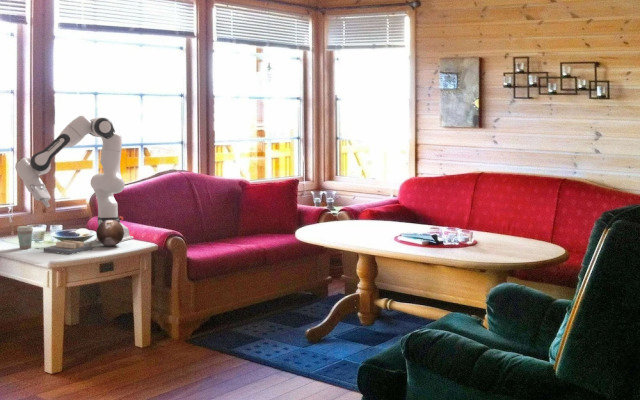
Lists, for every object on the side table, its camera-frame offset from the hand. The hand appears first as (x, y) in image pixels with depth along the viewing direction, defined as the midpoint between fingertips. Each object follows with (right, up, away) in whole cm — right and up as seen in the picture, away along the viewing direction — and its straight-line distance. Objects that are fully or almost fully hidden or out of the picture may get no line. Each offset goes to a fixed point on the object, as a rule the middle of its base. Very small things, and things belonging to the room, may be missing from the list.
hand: (48, 206), depth 451 cm
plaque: (+9, -20, -5) cm, 23 cm away
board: (+13, -24, -6) cm, 28 cm away
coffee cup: (-12, -23, -1) cm, 26 cm away
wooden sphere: (+32, -23, +9) cm, 40 cm away
